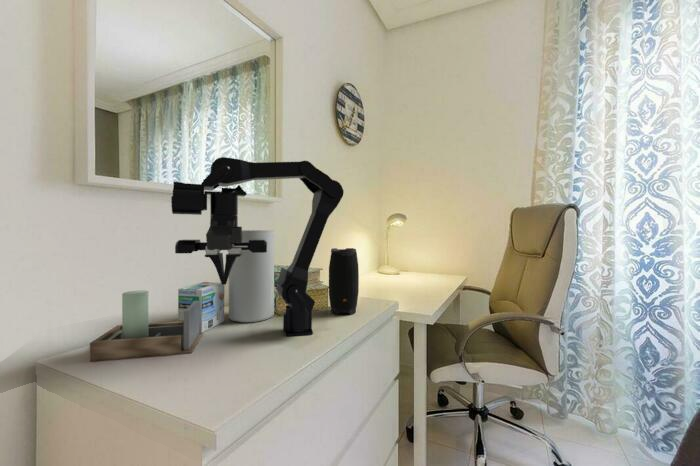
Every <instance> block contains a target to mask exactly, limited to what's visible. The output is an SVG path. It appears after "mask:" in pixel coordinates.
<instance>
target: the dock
mask: <svg viewBox="0 0 700 466" xmlns="http://www.w3.org/2000/svg"><path fill="white" fill-rule="evenodd" d="M174 325H184V321H180V322H178V321H164V322H149V327H159V326H174ZM120 330H122V324H118V325H116V326H114V327H112V328H111V329H109V330H108V331H106V332H105V333H103V334H102V335H100V336H99V337H97V338H95V339H94V340H93V341H91V342H89V361H90V362H91V363H92V362H102V361H113V360H124V359H125V360H126V359H138V358H149V357H160V356H162V357H163V356H172V355H174V356H175V355H184V354H193V352H194V350H195V349H196V347H197V345H198V344H199V343H200V341H201V339H202V337H203V335H204V332H203V333H199V335H198V337H197V338H196V340H195V341H194V343H193V344H192V346H191V347H190V349H189V350H184V349H181V335H173V336H159V337H144V338H130V339H116V340H107V339H108V338H110V337H111V336H113V335H114V334H116V333H117V332H119V331H120Z"/></svg>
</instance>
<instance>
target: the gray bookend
mask: <svg viewBox="0 0 700 466" xmlns="http://www.w3.org/2000/svg"><path fill="white" fill-rule="evenodd" d="M199 334H200V333H199V301H194V302H193V303H192V304H191V305H190V306H189V307H188V308H187V309H186V310H185V311H184V325H174V326H159V327H149V337H159V336H173V335H181V349H184V350H189V349H190V347H191V346H192V344H193V343H194V341H195V340H196V338H197V337H198V335H199ZM116 339H122V330H120V331H119V332H117V333H116V334H114V335H113V336H111V337H110V338H108V339H107V340H116Z"/></svg>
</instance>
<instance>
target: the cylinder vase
mask: <svg viewBox="0 0 700 466" xmlns="http://www.w3.org/2000/svg"><path fill="white" fill-rule="evenodd" d="M249 240H266V241H267V252H265V253H252V252H251V251H250V250H242V251H241V253H242V255H241V256H240V257H236V259H235V261H234V263H233V266H232V268H231V271H230V274H229V277H228V318H229V320H231V321H233V322H237V323H257V322H263V321H265V320H266V321H267V320H269V319H270V318H273V316H274V314H275V230H247V229H246V230H243V229H242V242H249ZM233 245H234V244H233Z"/></svg>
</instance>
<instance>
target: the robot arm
mask: <svg viewBox="0 0 700 466" xmlns="http://www.w3.org/2000/svg"><path fill="white" fill-rule="evenodd" d="M283 179H284V180H285V179H286V180H287V179H289V180H290V179H299V180H300V181H301V182H302V183H303V185H305V187H306V188H307V189H308V190H309V192H310V193H312V194H313V196H312V200H311V214H310V216H309V219H308V220H307V224H306V225H305V229H304V231H303V234H302V236H301V238H300V241H299V244H298V246H297V249H296V251H295V254H294V256H293V259H292V262H291V263H290V265H289V266H288V267H287V268H284V267H281V269H280V272H279V276H278V278H277V279H276V280H275V284H276V293H277V295H278V296H279V297H281V299H282V300H283V301H284V303H285V304H286V305H285V311H284V312H283V313H282V330H283V332H285V336H286V337H289V336H290V337H291V336H303V335H312V334H314V331H313V329H312V328H313V327H312V326H313V325H312V324H313V311H312V310H313V308H314V306H315V303H316V301H315V300H314V299H313V298H312V297H311V296H310V295H309V294H308V293H306V292H307V288H308V282H309V269H310V265H311V263H312V261H313V258H314V255H315V252H317V251H316V250H317V247H318V245H319V242H320V240H321V237H322V235H323V233H324V229H325V227H326V224H327V222H328V219H329V217H330V216H331V214H333V212H334V211H335V209H336V208H337V207H338V206H339V205H340V203H341V200H342V199H343V196H344V189H343V186H342V184H341V183H340V182H339V181H337V180H336V179H335V180H334V179H333V178H331V177H330V175H328V174H327V173H325V172H323V171H322V170H320V169H319V168H317V167H316V166H315V165H313V163H312V162H310V161H309V160H301V161H271V162H270V161H269V162H268V161H267V162H265V161H263V162H260V161H259V162H254V161H248V160H245V159H239V158H233V157H226V156H222V157H218V158H216V159H215V160H214V161H213V162H212V163H211V166H210V173H209V174H208V175H207V176H206V177H205V178H204V179H203V180H202V182H201V183H187V182H186V183H185V182H181V181H174V182H173V188H172V196H171V198H170V200H171V201H170V203H171V213H172V215H195V216H196V215H197V216H198V215H199V216H202V212H203V211H207V210H208V196H210V201H209V202H210V203H209V204H210V209H209V210H210V217H209V218H210V219H209V220H210V221H209V227H208V230H207V232H206V233H205V239H206V242H204V241H203V242H201V239H178V240H177V241H176V242H175V245H174V247H175V248H174V250H175V251H174V252H175V254H192V253H193V252H198V251H205V254H204V257H205V258H209V259H210V261H212V263H213V265H214V267H215V269H216V271H217V275H218V277H219V280H220V283H221V284H222V285H224V286H225V285H226V284H227V282H228V281H229V274H230V271H231V268H232V266H233V263H234V261H235V259H236V257H240V256H241V255H242V253H241V251H242V250H250V251H251V252H252V253H265V252H267V241H266V240H249V242H242V230H243V227H242V226H239V225H238V219H239V217H238V216H239V215H238V211H239V210H238V205H239V203H238V202H239V201H238V200H239V199H238V198H239V197H243V198H244V197H245V196H247V194H248V193H247V191H245V190H244V189H243V188H242V186H241V185H240V184H244V183H246V182H251V181H259V180H260V181H261V180H262V181H263V180H265V181H266V180H283ZM235 185H237V186H236V187H233V188H231V187H230V186H235ZM219 187H221V191H213V190H215V189H218V188H219ZM233 244H234V245H233ZM221 251H227V254H225V264H224V256H223V252H221Z"/></svg>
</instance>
